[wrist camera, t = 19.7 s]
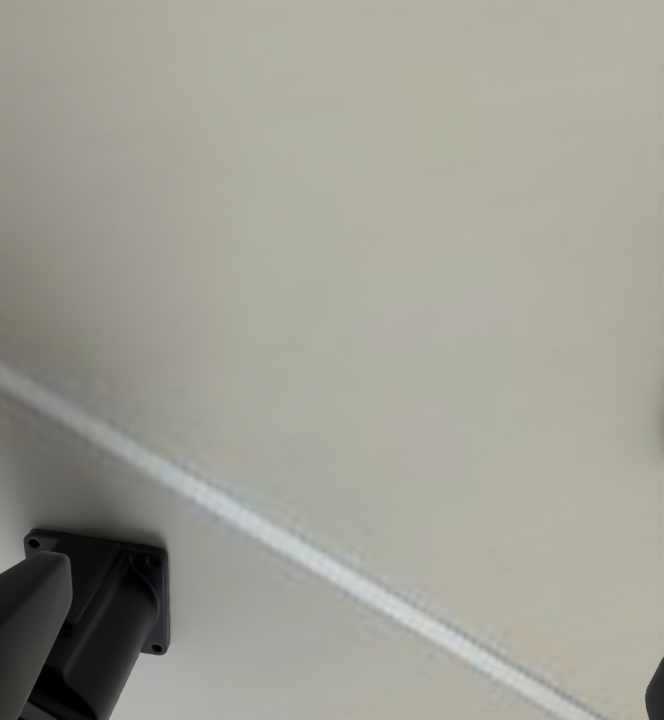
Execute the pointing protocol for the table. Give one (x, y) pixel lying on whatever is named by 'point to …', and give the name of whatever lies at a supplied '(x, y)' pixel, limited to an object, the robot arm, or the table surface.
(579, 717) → the table surface
